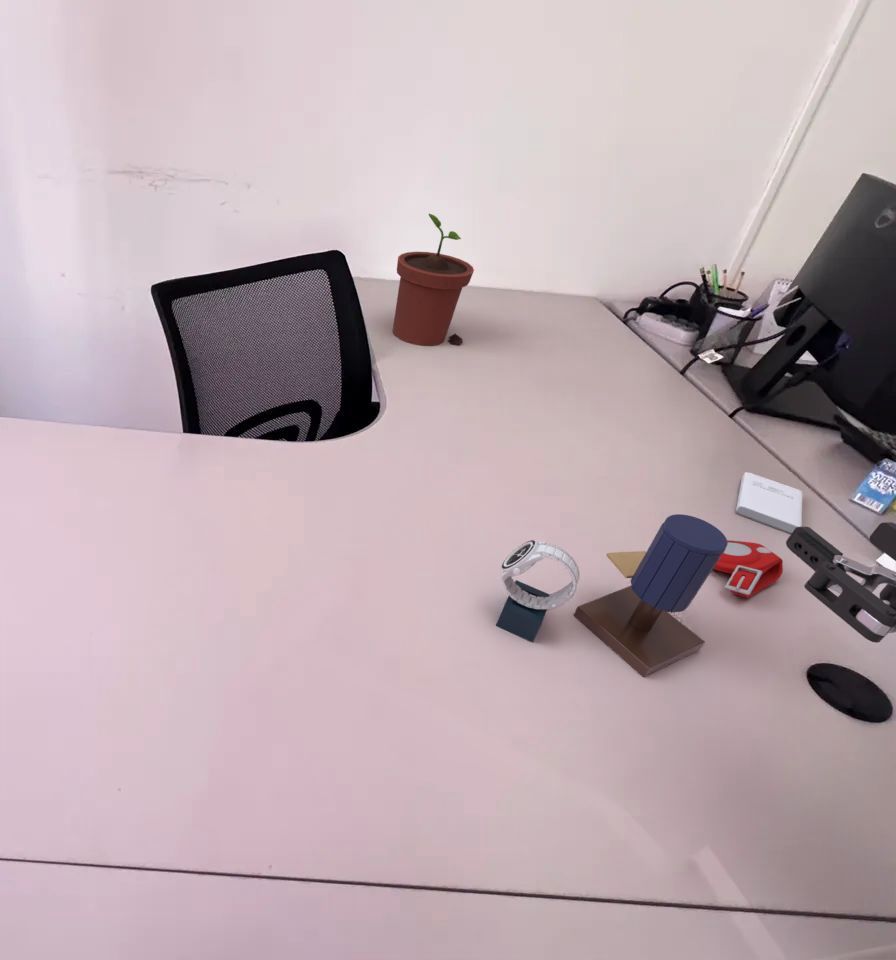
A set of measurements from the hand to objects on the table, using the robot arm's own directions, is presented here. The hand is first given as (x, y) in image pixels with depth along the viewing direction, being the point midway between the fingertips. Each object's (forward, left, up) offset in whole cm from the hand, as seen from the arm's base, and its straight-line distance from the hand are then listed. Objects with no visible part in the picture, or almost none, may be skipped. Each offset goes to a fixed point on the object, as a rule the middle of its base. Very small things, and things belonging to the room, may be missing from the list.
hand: (836, 532), depth 57 cm
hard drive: (-47, -21, -25) cm, 57 cm away
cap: (-4, -12, -18) cm, 22 cm away
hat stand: (-3, -11, -25) cm, 27 cm away
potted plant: (-36, -93, -25) cm, 103 cm away
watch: (+9, -18, -25) cm, 32 cm away
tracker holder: (-25, -13, -25) cm, 38 cm away
